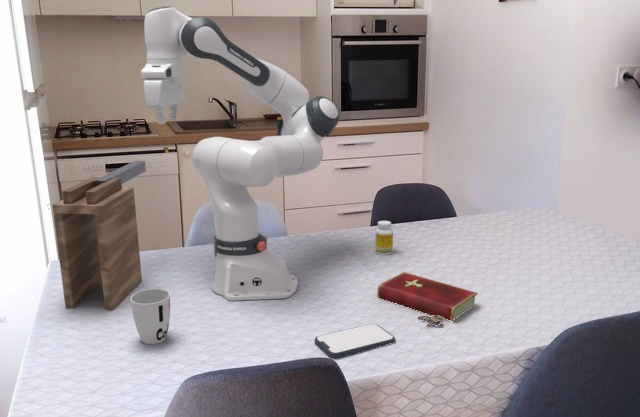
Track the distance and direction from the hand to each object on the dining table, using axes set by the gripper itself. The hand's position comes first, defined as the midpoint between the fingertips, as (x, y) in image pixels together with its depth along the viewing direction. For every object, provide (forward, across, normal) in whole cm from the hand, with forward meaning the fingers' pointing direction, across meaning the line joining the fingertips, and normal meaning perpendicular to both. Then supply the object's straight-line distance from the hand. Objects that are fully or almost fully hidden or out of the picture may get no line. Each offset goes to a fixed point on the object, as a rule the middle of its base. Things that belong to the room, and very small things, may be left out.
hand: (167, 121), depth 163 cm
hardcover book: (+42, +21, +70) cm, 85 cm away
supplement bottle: (+41, -14, +60) cm, 74 cm away
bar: (+15, +8, -11) cm, 20 cm away
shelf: (+41, +24, -11) cm, 49 cm away
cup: (+41, +46, +10) cm, 63 cm away
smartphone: (+42, +43, +54) cm, 81 cm away
